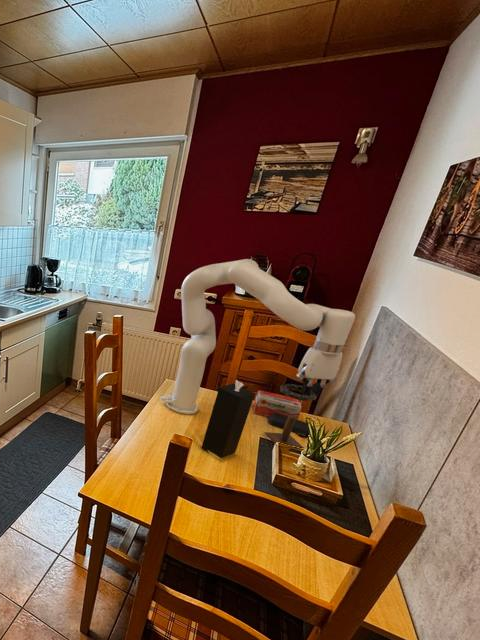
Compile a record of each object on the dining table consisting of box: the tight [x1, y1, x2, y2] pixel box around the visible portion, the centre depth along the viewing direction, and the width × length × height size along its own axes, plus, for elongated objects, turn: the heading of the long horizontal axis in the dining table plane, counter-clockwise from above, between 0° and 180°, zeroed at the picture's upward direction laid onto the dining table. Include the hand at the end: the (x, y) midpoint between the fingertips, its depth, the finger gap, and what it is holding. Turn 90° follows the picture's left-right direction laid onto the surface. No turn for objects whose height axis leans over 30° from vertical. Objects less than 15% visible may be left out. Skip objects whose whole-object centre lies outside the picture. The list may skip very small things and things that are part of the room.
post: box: [263, 415, 305, 449], centre depth 144 cm, size 9×9×12 cm
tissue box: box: [201, 379, 256, 459], centre depth 133 cm, size 8×8×28 cm
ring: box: [279, 383, 317, 402], centre depth 136 cm, size 10×10×2 cm
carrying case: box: [267, 413, 309, 438], centre depth 155 cm, size 11×3×15 cm
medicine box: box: [253, 389, 303, 420], centre depth 164 cm, size 15×8×8 cm, turn 61°
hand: (308, 395), depth 136 cm, fingers closed on ring, 2 cm apart
